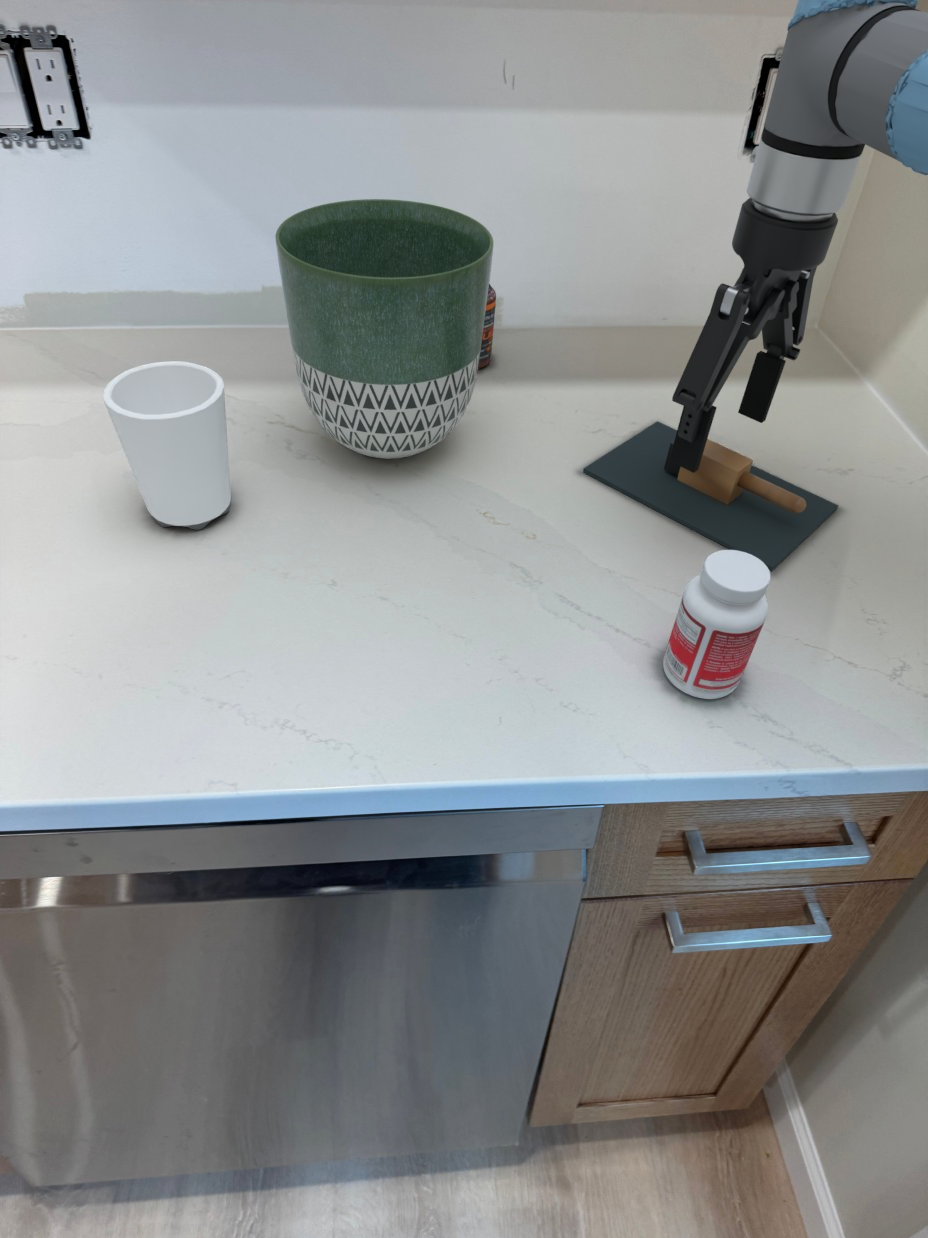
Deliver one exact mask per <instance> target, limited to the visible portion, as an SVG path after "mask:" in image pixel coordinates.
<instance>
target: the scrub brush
mask: <svg viewBox="0 0 928 1238" xmlns="http://www.w3.org/2000/svg"><path fill="white" fill-rule="evenodd" d="M673 444H674V441H672V442H671V443H670V447H669V451H668V455H667V458H666V462H665V466H664V469H665V470H667V471H669V472H671V473H673V474H675V475H677V476H678V478H677V480H678V481H680V482H682V483H684V484H686V485H688V486H690V487H692V488H694V489H696V490H698V491H700V492H702V493H704V494H707V495H709V496H711V497H713V498H715V499H717V500H719V501H721V502H723V503H725V504H727V505H728V504H729V503H730V502H732V501H733V500H734V499H735V498H737V497H738V496H739V495H740V494H742V492H743V489H745V490H747V491H749V492H751V493H754V494H756V495H758V496H760V497H762V498H764V499H766V500H768V501H770V502H772V503H774V504H776V505H778V506H780V507H782V508H785V509H787V510H789V511H791V512H793V513H801V512H803V511H804V510H805V508H806V501H805V500H804V499H803V498H802V497H800V496H797V495H795V494H793V493H791V492H789V491H787V490H785V489H783V488H781V487H778V486H776V485H774V484H772V483H770V482H768V481H766V480H764V479H761V478H759V477H757V476H755V475H753V474H751V473H749V472H750V469H751V466H752V465H753V463H754V459H752V458H749V457H748V456H745V455H743V454H741V453H739V452H737V451H735V450H733V449H731V448H728V447H727V446H724V445H722V444H719V443H717V442H716V441H713V440H711V439H709V438H707V442H706V445H705V448H704V452H703V455H702V458H701V462H700V465H699V468H698V470H697V471H696V472H694V473H693V472H691V471H689V470H687V469H685V468H683V467H681V466H679V465H677V464H675V463H673V462H671V461H669V459H670V455H671V452H672V448H673Z"/></svg>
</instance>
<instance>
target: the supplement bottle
mask: <svg viewBox="0 0 928 1238" xmlns="http://www.w3.org/2000/svg"><path fill="white" fill-rule="evenodd" d="M490 281H491V280H490ZM490 281H489V288H488V296H487V303H486V312H485V320H484V329H483V336H482V343H481V350H480V358H479V366H478V370H480V369H482V368H484V367H486V366H487V365H489V363H490V362H491V358H492V351H493V338H494V328H495V327H494V326H495V317H496V316H495V314H496V303H497V292H496V290H495V289H494V287H493V286H492V285H491V284H490Z"/></svg>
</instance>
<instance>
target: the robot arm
mask: <svg viewBox="0 0 928 1238" xmlns="http://www.w3.org/2000/svg"><path fill="white" fill-rule="evenodd" d="M918 4H919V0H797V3H796V6H795V9H794V12H793V15H792V18H791V19H790V21H789V22H788V24H787V33H786V39H785V41H784V42H785V43H784V45H783V50H782V53H781V58H780V61H779V64H778V69H777V73H776V76H775V79H774V80H775V81H774V83H773V84H774V85H773V87H772V92H771V96H770V100H769V103H768V107H767V111H766V116H765V119H764V122H763V129H762V132H761V136H760V139H759V143H758V145H756V146H755V147H754V148H753V150H752V151H751V152H752V153H751V157H752V159H754V162H753V165H752V170H751V173H750V177H749V180H748V184H747V188H746V193H747V195H748V197H749V198H748V199H746V200H745V201H744V202H742V204H741V207H740V210H739V215H738V219H737V222H736V224H735V225H736V226H735V229H734V233H733V236H732V242H731V247H732V250H733V252H734V253H735V254H736V255H737V256H739V257H740V259H741V260H742V262H743V268H742V270H741V272H740V274H739V276H738V278H737V280H736V282H735V283H734V285H733V286H732V285H729V284H726V283H724V282H723V283H720V284H719V285H718V286H717V289H716V292H715V294H714V297H713V301H712V304H711V308H710V312H709V314H708V316H707V319H706V320H705V323H704V325H703V327H702V330H701V332H700V334H699V336H698V339H697V341H696V343H695V345H694V348H693V350H692V352H691V354H690V356H689V359H688V361H687V363H686V365H685V367H684V370H683V371H682V375H681V376H680V379H679V380H678V383H677V385H676V388H675V390H674V392H673V395H672V398H671V399H672V400H671V401H672V402H674V403H676V404H679V405H681V406H682V411H681V414H680V418H679V422H678V425H677V426H678V427H677V429H676V430H677V433H676V437H675V440H674V444H673V448H672V452H671V455H670V459H669V461H671V462H673V463H675V464H677V465H679V466H681V467H683V468H685V469H687V470H689V471H691V472H693V473H694V472H696V471H697V470H698V468H699V465H700V462H701V458H702V455H703V452H704V448H705V445H706V442H707V439H709V435H710V431H711V429H712V424H713V421H714V418H715V415H716V411H717V406H715V405H713V404H714V403H715V401H716V399H717V397H718V396H719V394H720V392H721V391H722V389H723V387H724V385H725V384H726V382H727V380H728V378H729V377H730V375H731V373H732V371H733V369H734V368H735V366H736V365H737V363H738V361H739V359H740V357H741V355H742V354H743V352H744V350H745V349H746V347H747V345H748V343H749V342H750V341H752V340H755V339H758V337H759V335H760V334H761V336H762V346H763V350H765V351H766V352H765V351H762V350H760V351H758V352H757V353H756V355H755V358H754V361H753V364H752V367H751V371H750V374H749V377H748V379H747V383H746V386H745V389H744V392H743V396H742V399H741V402H740V406H739V408H738V411H737V413H738V414H740V415H742V416H745V417H746V418H749V419H751V420H754V421H756V422H758V423H760V424H762V423H764V422H765V421H766V419H767V416H768V413H769V411H770V408H771V406H772V401H773V399H774V397H775V394H776V391H777V388H778V385H779V382H780V379H781V376H782V373H783V371H784V368H785V365H786V362H787V360H785V358H786V359H788V360H790V361H793V362H794V361H796V360H797V358H798V357H799V355H800V353H801V349H800V348H798V347H797V346H799V345H800V344H801V343H802V342H803V340H804V336H805V331H806V325H807V320H808V319H807V318H808V313H809V306H810V301H811V295H812V288H813V283H814V277H815V275H816V271H817V268H818V266H820V265H821V264H822V263H823V262H824V261H825V259H826V257H827V254H828V251H829V249H830V246H831V243H832V239H833V237H834V234H835V231H836V228H837V226H838V223H839V219H838V217H837V214H836V213H837V212H840V211H841V210H842V209H844V207H845V205H846V203H847V199H848V197H849V195H850V194H849V193H850V190H851V187H852V185H853V182H854V179H855V176H856V173H857V170H858V167H859V165H860V161H861V158H862V155H863V152H864V149H865V146H868V147H869V148H871V149H873V150H875V151H877V152H880V153H882V154H884V155H886V156H888V157H890V158H892V159H894V160H896V161H898V162H899V163H901V164H902V165H903V166H904V167H905V168H911V170H912V171H913V172H915V173H917V174H919V175H920V174H921V175H923V176H928V12H926V11H922V10H920V9H918V8H917V5H918ZM794 345H795V346H796V347H795V346H794Z"/></svg>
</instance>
